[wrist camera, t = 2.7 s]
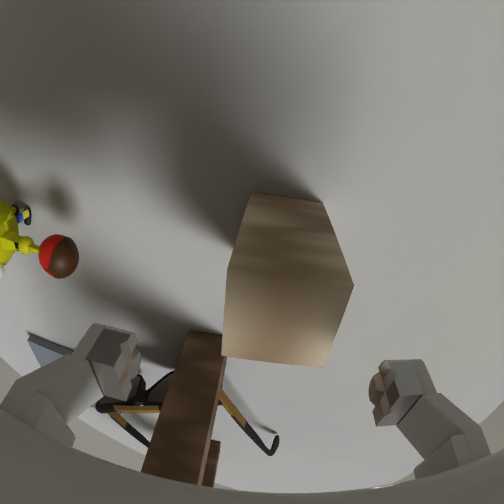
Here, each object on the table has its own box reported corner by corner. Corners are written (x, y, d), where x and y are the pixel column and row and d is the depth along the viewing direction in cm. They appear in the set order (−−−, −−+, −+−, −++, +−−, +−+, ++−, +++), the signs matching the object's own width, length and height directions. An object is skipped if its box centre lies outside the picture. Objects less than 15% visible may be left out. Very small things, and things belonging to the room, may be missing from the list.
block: (322, 202, 16) (354, 285, 9) (309, 264, 18) (322, 367, 11) (251, 192, 16) (227, 268, 9) (243, 255, 18) (221, 355, 11)
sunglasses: (176, 440, 32) (167, 472, 27) (100, 368, 25) (80, 404, 21) (279, 436, 28) (277, 474, 24) (221, 353, 22) (209, 405, 18)
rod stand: (228, 337, 21) (186, 539, 8) (220, 450, 32) (202, 548, 19) (188, 330, 21) (125, 522, 8) (197, 446, 32) (176, 543, 19)
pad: (100, 360, 25) (96, 367, 24) (121, 410, 30) (118, 416, 29) (31, 334, 25) (27, 340, 24) (58, 386, 30) (55, 391, 29)
